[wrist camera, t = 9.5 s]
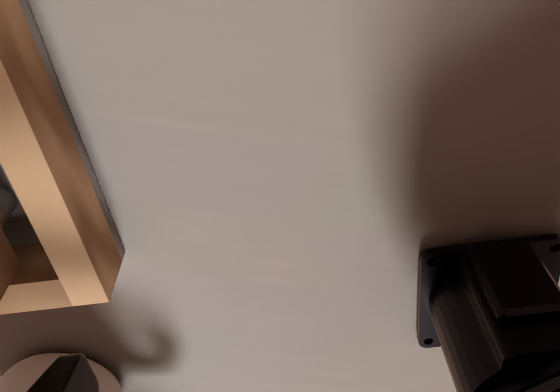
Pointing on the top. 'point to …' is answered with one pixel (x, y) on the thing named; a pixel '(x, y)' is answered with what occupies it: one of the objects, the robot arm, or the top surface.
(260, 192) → the top surface
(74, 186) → the wooden tray
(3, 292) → the brown wooden block
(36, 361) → the cup
